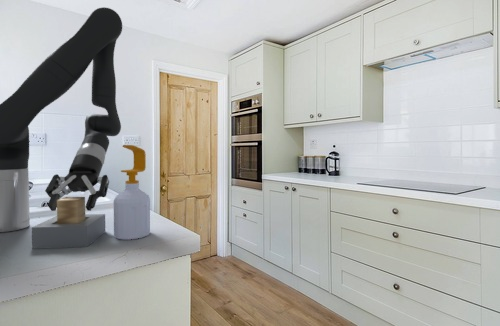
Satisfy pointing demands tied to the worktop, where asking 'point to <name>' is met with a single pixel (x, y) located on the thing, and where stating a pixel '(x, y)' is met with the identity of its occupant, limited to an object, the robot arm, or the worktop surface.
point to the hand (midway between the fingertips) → (70, 209)
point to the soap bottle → (132, 203)
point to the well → (68, 232)
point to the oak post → (70, 210)
